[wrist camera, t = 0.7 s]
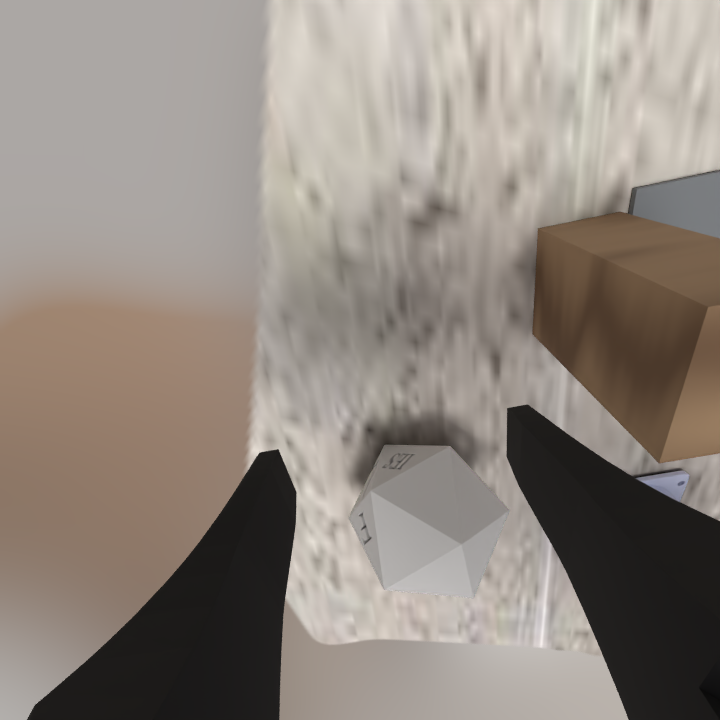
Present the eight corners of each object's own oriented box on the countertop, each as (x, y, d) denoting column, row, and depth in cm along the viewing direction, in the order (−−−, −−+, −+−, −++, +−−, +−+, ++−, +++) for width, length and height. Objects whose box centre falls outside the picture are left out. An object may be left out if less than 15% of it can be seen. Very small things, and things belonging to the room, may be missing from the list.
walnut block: (602, 320, 21) (778, 443, 13) (532, 334, 22) (658, 463, 13) (620, 211, 18) (865, 277, 10) (538, 228, 19) (708, 307, 10)
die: (426, 385, 24) (334, 513, 18) (551, 473, 22) (498, 648, 16) (385, 443, 30) (307, 551, 24) (480, 514, 29) (423, 650, 23)
